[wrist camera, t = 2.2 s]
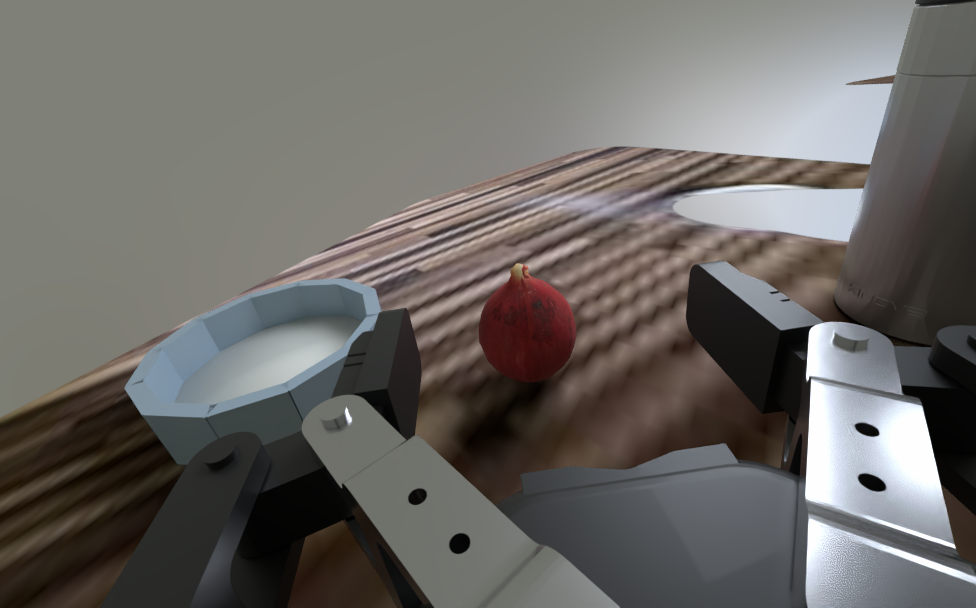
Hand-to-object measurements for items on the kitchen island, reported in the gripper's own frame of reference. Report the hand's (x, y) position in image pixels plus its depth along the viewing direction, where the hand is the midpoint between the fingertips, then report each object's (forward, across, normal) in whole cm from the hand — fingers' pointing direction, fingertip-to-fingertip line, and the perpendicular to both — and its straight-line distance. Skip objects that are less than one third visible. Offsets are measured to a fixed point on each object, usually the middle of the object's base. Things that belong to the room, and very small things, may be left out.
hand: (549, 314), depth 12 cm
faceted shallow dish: (+16, +18, +12) cm, 26 cm away
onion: (+12, 0, +12) cm, 16 cm away
